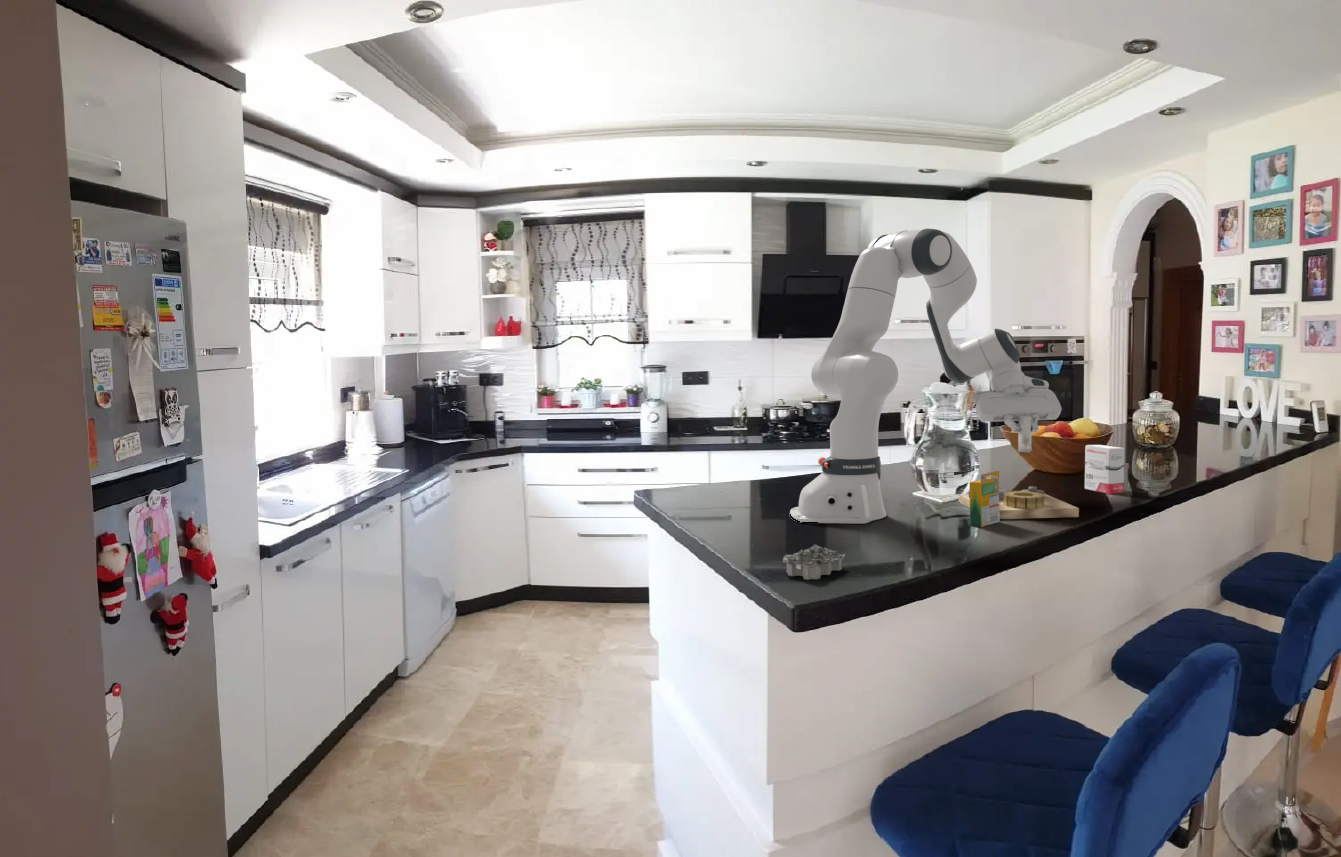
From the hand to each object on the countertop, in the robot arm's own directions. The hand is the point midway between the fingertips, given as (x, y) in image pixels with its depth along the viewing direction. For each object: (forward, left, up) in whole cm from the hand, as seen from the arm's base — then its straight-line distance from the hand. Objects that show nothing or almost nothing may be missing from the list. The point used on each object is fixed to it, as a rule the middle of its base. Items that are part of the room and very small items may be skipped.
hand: (1025, 431), depth 189 cm
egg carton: (-61, -59, -18) cm, 87 cm away
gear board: (-8, -13, -17) cm, 23 cm away
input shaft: (0, +1, -5) cm, 5 cm away
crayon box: (-20, -27, -17) cm, 38 cm away
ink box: (+22, +6, -17) cm, 29 cm away
